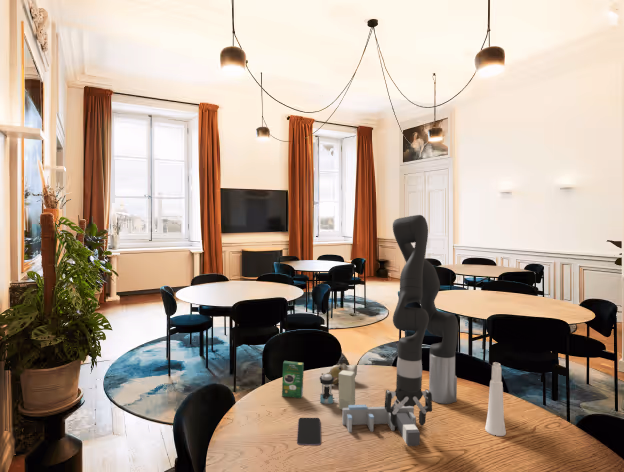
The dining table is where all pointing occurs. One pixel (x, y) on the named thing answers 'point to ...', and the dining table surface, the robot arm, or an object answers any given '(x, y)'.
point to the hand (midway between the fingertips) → (407, 424)
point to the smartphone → (309, 431)
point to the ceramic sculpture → (338, 368)
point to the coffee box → (292, 379)
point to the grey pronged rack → (371, 416)
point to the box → (346, 389)
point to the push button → (326, 389)
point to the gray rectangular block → (408, 430)
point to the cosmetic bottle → (495, 404)
